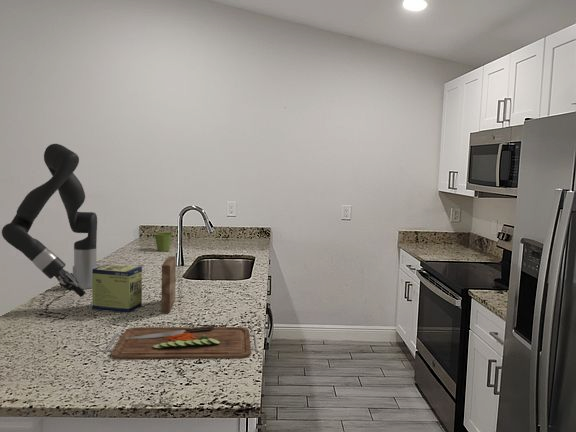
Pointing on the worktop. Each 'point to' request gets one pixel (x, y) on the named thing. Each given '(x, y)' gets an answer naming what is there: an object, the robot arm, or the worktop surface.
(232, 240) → the worktop surface
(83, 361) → the worktop surface
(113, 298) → the protein box
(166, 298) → the board
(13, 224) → the robot arm
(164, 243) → the plant pot
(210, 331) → the chopping board
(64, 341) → the worktop surface
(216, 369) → the worktop surface
